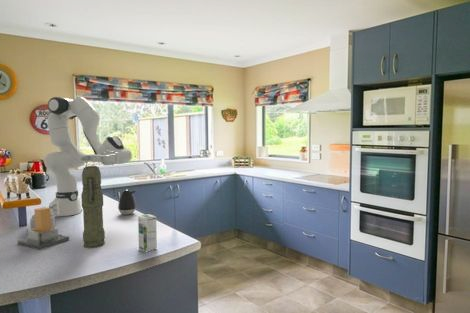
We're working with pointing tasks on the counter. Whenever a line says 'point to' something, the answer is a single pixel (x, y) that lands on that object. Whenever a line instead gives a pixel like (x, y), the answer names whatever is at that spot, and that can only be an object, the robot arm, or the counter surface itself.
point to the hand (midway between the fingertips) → (86, 159)
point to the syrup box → (147, 232)
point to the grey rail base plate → (42, 238)
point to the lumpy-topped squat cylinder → (51, 221)
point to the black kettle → (127, 202)
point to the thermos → (92, 207)
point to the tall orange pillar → (42, 219)
